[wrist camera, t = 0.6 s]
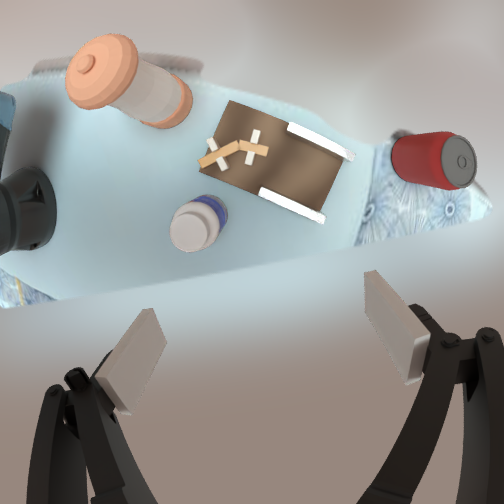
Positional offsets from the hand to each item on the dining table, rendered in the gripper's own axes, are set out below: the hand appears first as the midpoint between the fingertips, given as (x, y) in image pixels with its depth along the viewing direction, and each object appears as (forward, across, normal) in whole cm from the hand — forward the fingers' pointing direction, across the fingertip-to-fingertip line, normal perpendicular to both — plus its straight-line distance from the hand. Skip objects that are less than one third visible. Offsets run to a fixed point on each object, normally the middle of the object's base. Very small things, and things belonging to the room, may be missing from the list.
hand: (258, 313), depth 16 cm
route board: (+21, +3, +8) cm, 23 cm away
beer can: (+21, +22, +6) cm, 31 cm away
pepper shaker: (+22, -9, +20) cm, 30 cm away
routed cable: (+20, -1, +10) cm, 23 cm away
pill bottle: (+21, -7, +3) cm, 23 cm away
